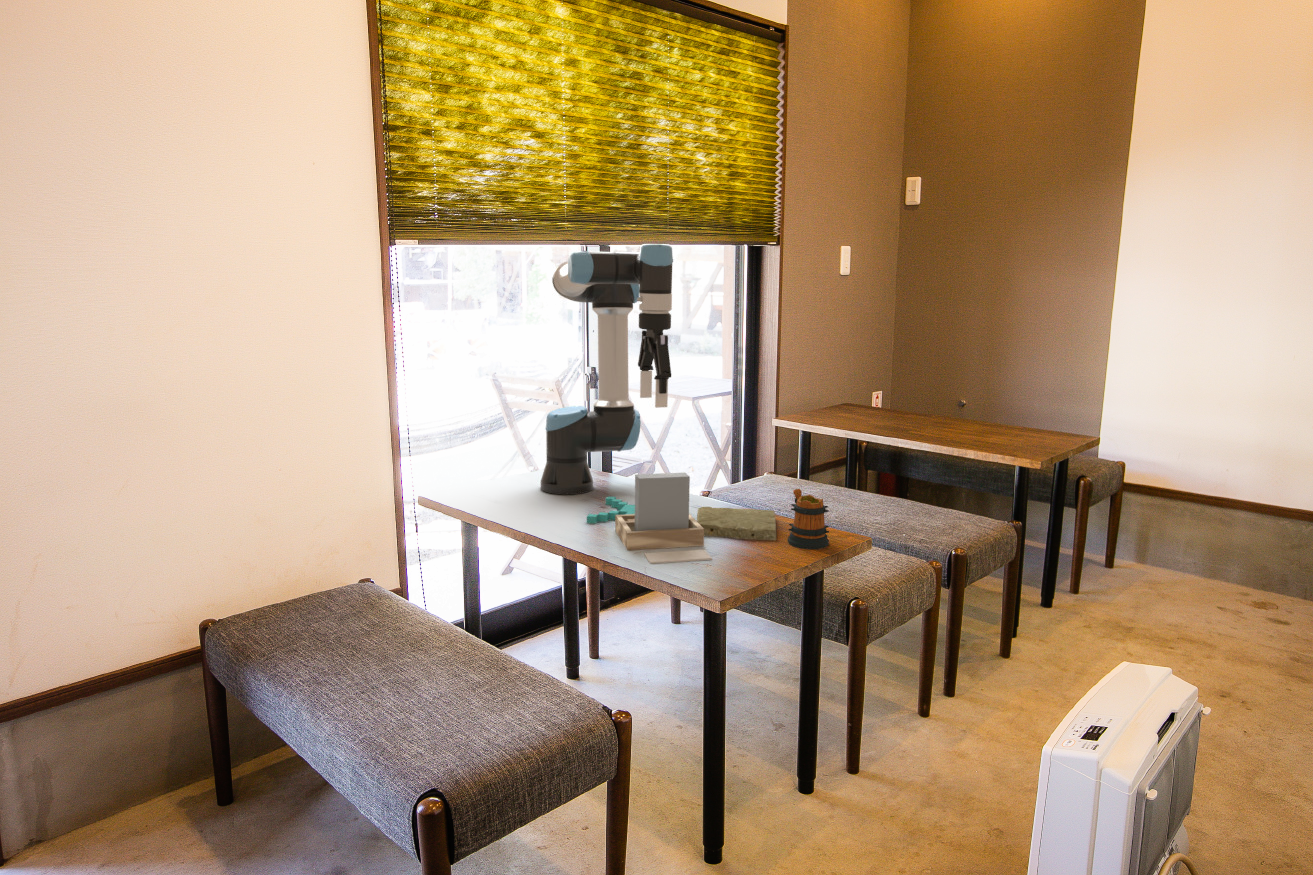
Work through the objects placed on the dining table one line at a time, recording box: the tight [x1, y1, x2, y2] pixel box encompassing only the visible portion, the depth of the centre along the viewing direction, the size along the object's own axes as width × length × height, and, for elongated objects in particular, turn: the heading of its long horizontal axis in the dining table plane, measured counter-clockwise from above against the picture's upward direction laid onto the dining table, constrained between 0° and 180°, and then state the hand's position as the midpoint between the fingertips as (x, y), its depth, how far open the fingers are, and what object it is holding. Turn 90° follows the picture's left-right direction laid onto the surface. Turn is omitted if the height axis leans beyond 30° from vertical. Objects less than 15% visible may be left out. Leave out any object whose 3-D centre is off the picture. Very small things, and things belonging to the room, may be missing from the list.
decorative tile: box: [696, 506, 777, 541], centre depth 218 cm, size 19×20×4 cm
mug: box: [787, 488, 830, 551], centre depth 207 cm, size 13×10×12 cm
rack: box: [614, 513, 705, 551], centre depth 208 cm, size 15×18×4 cm
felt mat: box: [643, 549, 713, 565], centre depth 195 cm, size 6×14×1 cm, turn 103°
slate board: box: [634, 472, 691, 531], centre depth 204 cm, size 4×12×16 cm, turn 103°
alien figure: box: [586, 496, 635, 525], centre depth 227 cm, size 20×2×20 cm
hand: (653, 402), depth 208 cm, fingers open, 13 cm apart
